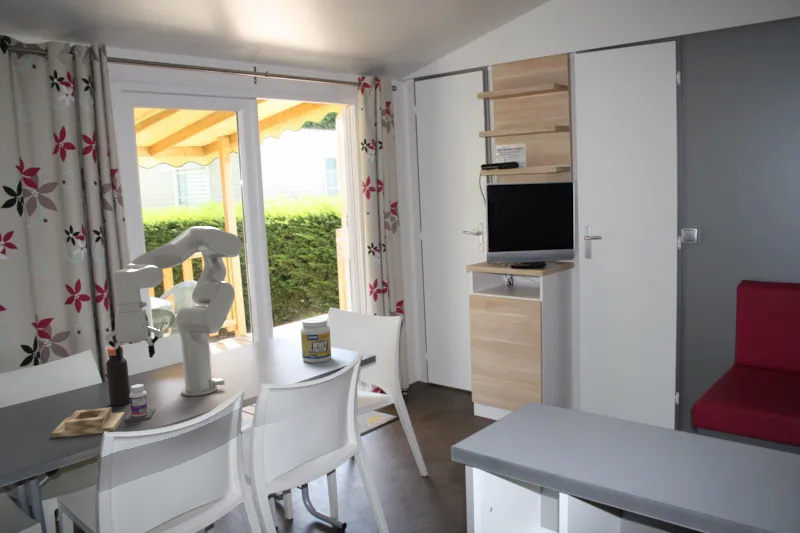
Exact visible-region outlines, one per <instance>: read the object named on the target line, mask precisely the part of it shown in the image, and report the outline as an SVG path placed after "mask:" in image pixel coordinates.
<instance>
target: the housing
mask: <svg viewBox="0 0 800 533" xmlns="http://www.w3.org/2000/svg"><path fill="white" fill-rule="evenodd" d="M112 407H113V406H112ZM112 407H111V406H110V407H99V408H90V409H80V410H79V409H77V410H75V411H74V412H73V413H72V414H71V415H70V416H69V417H65V419H63V421H62V422H61V423H60V424H58V426H57V427H56V428H55V429H54V430H53V431H52V432H51V438H53V439H55V438H65V437H74V436H76V437H77V436H85V435H86V436H87V435H94V434H97V435H98V434H104V433H103V432H104V431H114V432H115V431H116V430H117V428H118V427H119V426H120V424H121V423H122V422H123V420H124V419H125V418H126V411H122V412H121V411H119V412H113V408H112Z"/></svg>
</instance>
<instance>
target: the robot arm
mask: <svg viewBox="0 0 800 533" xmlns="http://www.w3.org/2000/svg"><path fill="white" fill-rule="evenodd" d="M242 250H243V243H242V241H241V239H240V237H239V236H237V235H236V234H234V233H232V232H228V231H225V230H223V229H220V228H217V227H213V226H192V227H189V228H186V229H185V230H184V231H182V232H180V234H178V235H176V236H175V237H174V238H173V239H172V240H170V241H169V242H166V243H165V244H163V245H161V246H160V247H157V248H154V249H152V250H150V251H149V250H148V251H147V252H145V253H142V254H141V255H138V256H137V257H135V258H134V259H133V260H131V261H130V262H128V263H127V264H126V265H125V266H124V267H123V268H122V269H119V270H115V271H114V272H112V282H113V283H112V284H113V289H114V297H115V303H116V313H115V314H114V315H115V317H114V330H113V331H111V332H110V333H108V334H106V335H105V337H104V339H105V341H107V343H108V345H109V346H111V347H113V348H114V349H115V350H116V357H117V358H118V360H119V361H121V360H122V359H123V358H124V352H123V353H122V347H123V346H122V347H120V346H121V345H122V344H127V343H137V342H144V341H145V342H146V343H147V344H148V347H147V348H148V355H149V358H151V359H152V358H153V357H154V355H155V353H156V350H155V349H156V348H155V343H156V342H157V341H158V340H159V338H160V336H161V333H162V330H160V329H158V328H155V327H154V326H153V327H152V326H150V325H151V324H150V321H149V317H148V314H147V311H146V309H145V308H144V307H147V302H144V301H143V300H142V296H141V290H142V289H152V288H155V287H158V286H159V285H160V284H161V283H162V281H163V278H164V272H163V271H162V270H163V269H170V268H174V267H178V266H180V265H182V264H183V263H184V262H185V261H187V260H188V259H189V258H190V257H192V256H193V255H194V254H196V253H197V252H199V251H200V252H201V255H202V259H203V263H204V265H203V269H202V272H201V274H200V275H199V278H198V279H197V283H196V285H195V287H194V289H193V291H192V294H191V298H192V302H193V303H195V304H196V305H187V306H184V307H182V308H181V309H179V310H178V311H177V313H176V317H175V322H176V327H177V330H178V333H179V337H180V343H181V354H182V356H181V357H182V365H183V366H182V367H183V376H184V387H182V389H181V391H180V394H182V395H183V396H187V397H199V396H204V395H208V394H212V393H214V392H215V391H216V390H218V386H225V384H226V383H225V382H226V381H225V379H222V378H217V379H216V378H214V375H212V365H211V355H210V353H211V352H210V341H209V338H208V336H207V334H210V335H211V334H216V333H218V332H219V331H221V329H222V327H223V326H224V324H225V322H226V319H227V318H228V315H229V313H230V310H231V309H232V306H233V304H234V300H235V289H234V287H233V285H232V284H231V283H230V282H228V281H225V279H226V276H227V268H226V265H225V262H224V260H223V258H236V257H238V256H239V255H240V254H241V253H242ZM151 333H152V334H153V333H154V337H153V338H152V337H151V335H152V334H151ZM114 336H115V339H116V341H115V340H113V339H112V337H114Z"/></svg>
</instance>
